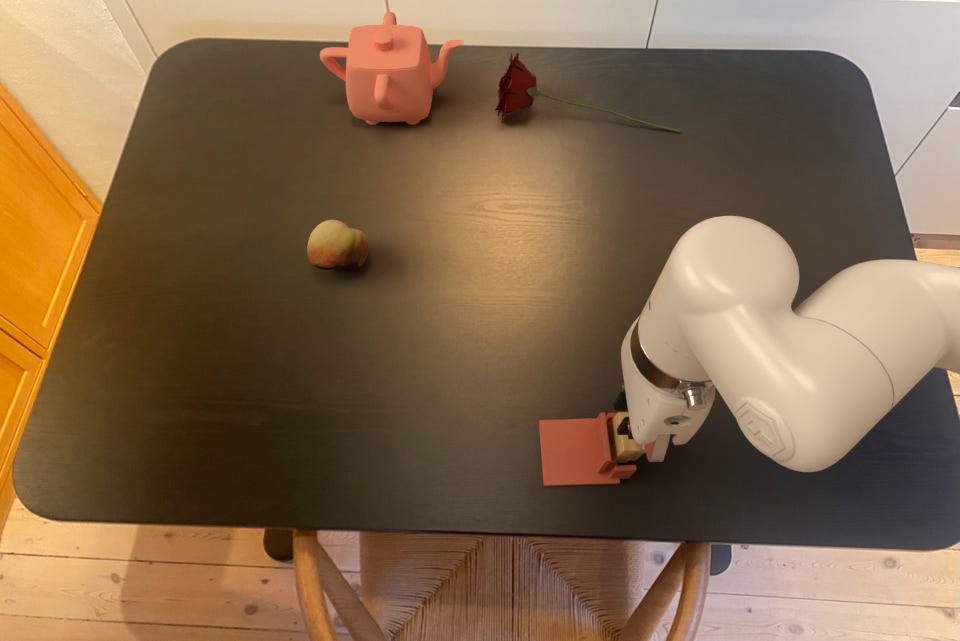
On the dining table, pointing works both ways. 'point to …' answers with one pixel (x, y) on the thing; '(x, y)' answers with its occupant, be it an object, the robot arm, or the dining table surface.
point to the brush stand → (579, 452)
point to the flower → (534, 93)
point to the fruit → (337, 246)
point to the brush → (622, 442)
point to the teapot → (389, 71)
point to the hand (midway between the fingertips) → (630, 418)
